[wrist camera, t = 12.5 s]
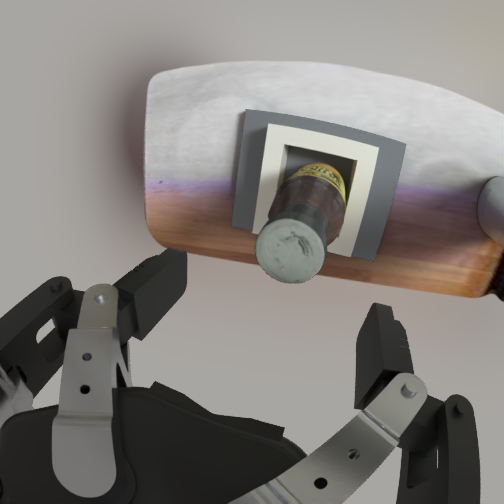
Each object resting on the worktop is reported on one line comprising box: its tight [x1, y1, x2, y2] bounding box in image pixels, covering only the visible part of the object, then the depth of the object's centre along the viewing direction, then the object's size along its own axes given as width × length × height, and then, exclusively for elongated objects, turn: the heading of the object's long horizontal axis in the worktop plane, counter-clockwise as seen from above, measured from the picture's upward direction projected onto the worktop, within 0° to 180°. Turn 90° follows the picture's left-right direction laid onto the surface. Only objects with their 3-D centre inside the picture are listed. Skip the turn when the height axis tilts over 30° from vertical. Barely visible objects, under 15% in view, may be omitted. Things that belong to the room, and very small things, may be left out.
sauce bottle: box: [255, 162, 345, 283], centre depth 23 cm, size 7×6×20 cm
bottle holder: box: [231, 109, 406, 262], centre depth 31 cm, size 20×16×6 cm
